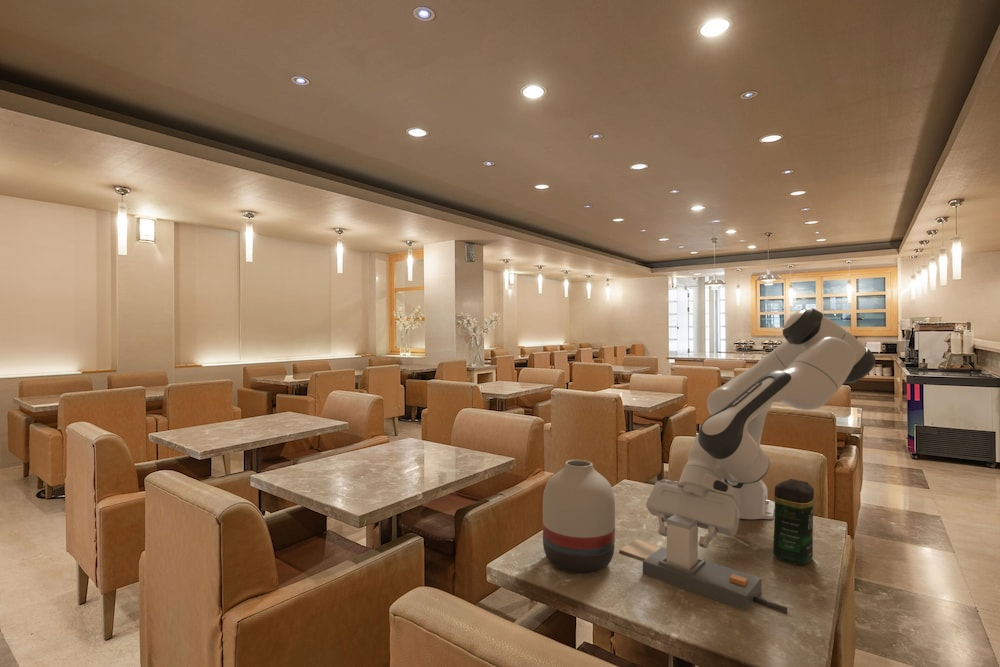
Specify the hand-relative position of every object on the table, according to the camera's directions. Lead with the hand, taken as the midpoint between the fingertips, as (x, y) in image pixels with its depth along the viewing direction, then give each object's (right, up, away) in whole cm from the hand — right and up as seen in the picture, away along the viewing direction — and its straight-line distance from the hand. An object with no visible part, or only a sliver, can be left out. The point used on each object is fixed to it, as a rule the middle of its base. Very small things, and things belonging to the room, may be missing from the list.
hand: (681, 540), depth 112 cm
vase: (-22, -8, +7) cm, 25 cm away
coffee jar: (+31, -9, +10) cm, 34 cm away
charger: (0, -5, +1) cm, 5 cm away
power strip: (+5, -8, -4) cm, 11 cm away
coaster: (-4, -8, +13) cm, 16 cm away
